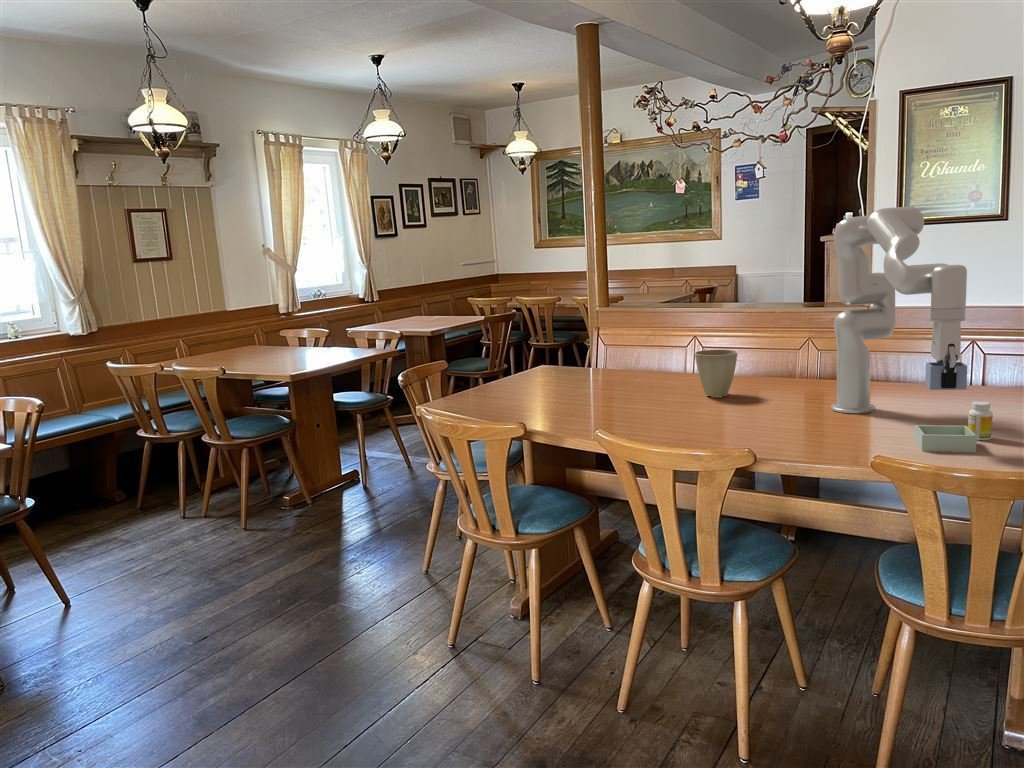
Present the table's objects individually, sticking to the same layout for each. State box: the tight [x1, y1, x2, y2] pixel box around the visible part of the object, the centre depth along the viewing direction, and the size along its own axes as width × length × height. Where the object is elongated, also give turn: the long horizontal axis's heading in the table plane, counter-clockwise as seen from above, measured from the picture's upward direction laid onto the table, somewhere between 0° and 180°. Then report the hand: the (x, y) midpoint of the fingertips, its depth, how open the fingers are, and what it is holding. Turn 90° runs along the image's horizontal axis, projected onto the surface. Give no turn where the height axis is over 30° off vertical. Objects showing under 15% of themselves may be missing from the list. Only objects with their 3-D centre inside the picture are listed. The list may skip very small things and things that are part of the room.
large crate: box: [913, 424, 978, 453], centre depth 190 cm, size 10×12×4 cm
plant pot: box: [694, 349, 738, 397], centre depth 267 cm, size 15×15×16 cm
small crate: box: [924, 361, 968, 391], centre depth 188 cm, size 6×8×6 cm
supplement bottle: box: [967, 400, 994, 441], centre depth 194 cm, size 5×5×10 cm
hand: (945, 384), depth 188 cm, fingers closed on small crate, 6 cm apart
